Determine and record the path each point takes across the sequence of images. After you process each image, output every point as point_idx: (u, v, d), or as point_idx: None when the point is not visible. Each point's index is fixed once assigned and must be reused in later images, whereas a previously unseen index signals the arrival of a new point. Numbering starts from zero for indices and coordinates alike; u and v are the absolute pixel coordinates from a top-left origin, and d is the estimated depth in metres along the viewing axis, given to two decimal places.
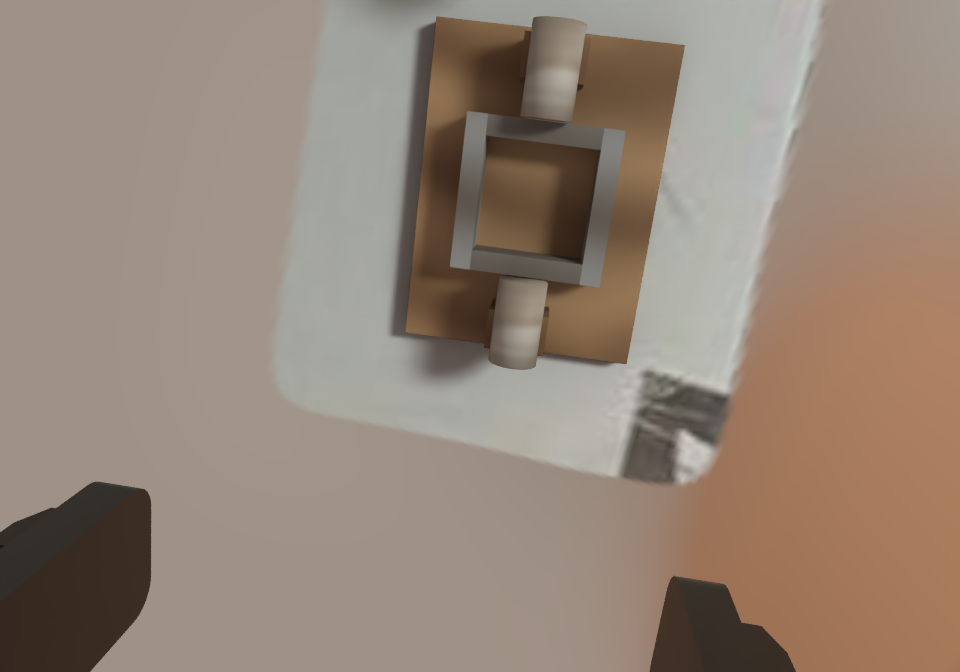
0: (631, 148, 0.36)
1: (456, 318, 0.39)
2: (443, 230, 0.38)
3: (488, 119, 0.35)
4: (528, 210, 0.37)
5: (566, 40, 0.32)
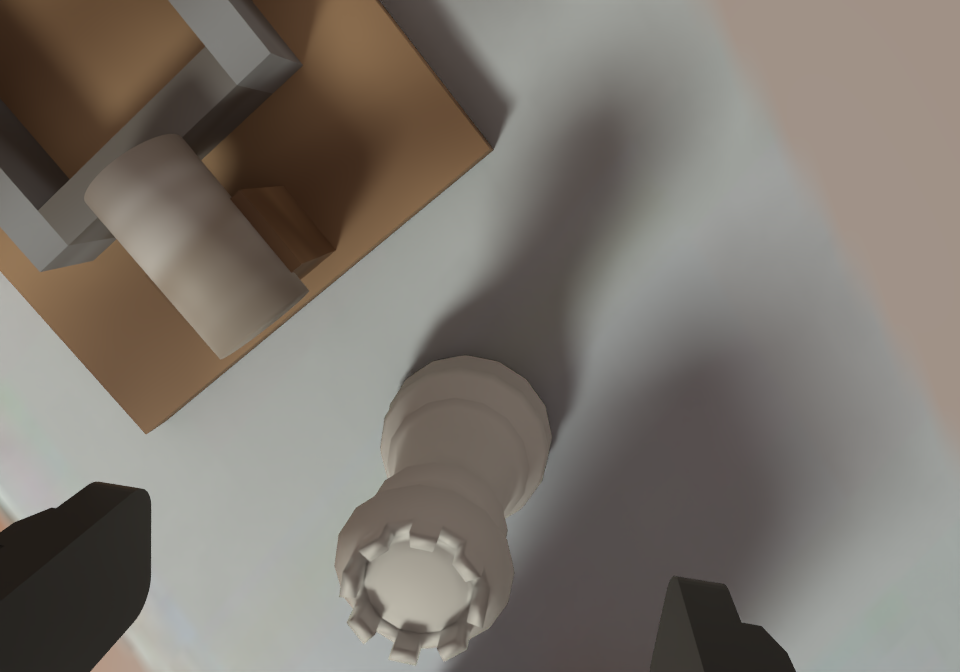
0: None
1: None
2: None
3: (227, 76, 0.15)
4: (77, 11, 0.17)
5: (202, 314, 0.15)
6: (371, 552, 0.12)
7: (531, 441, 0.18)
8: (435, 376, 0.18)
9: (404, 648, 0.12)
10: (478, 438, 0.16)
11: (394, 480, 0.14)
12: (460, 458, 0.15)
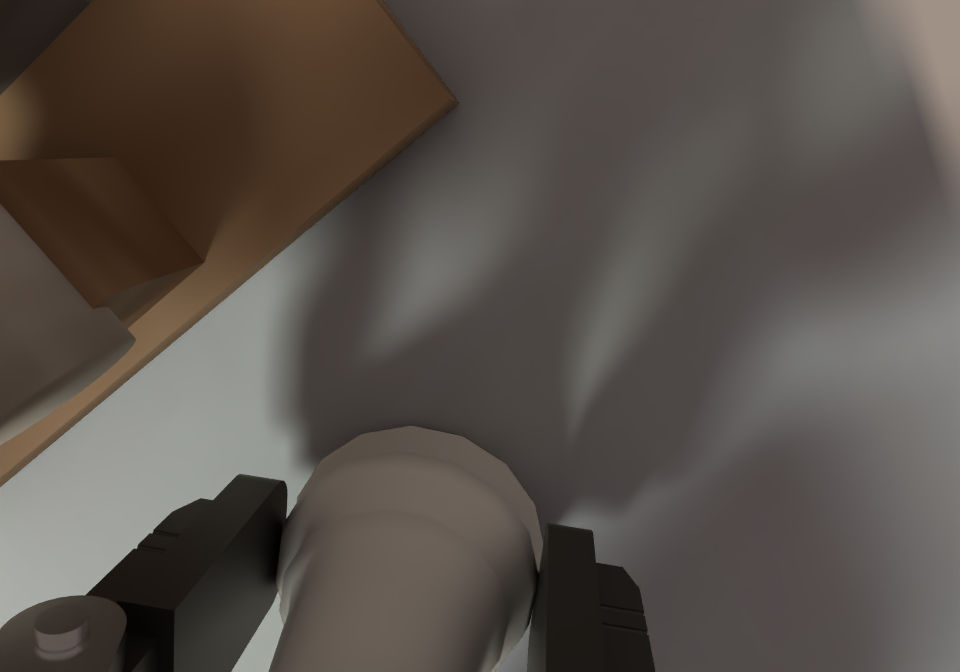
0: None
1: None
2: None
3: None
4: None
5: None
6: None
7: (511, 574, 0.11)
8: (359, 466, 0.11)
9: None
10: (420, 592, 0.09)
11: None
12: (381, 649, 0.08)
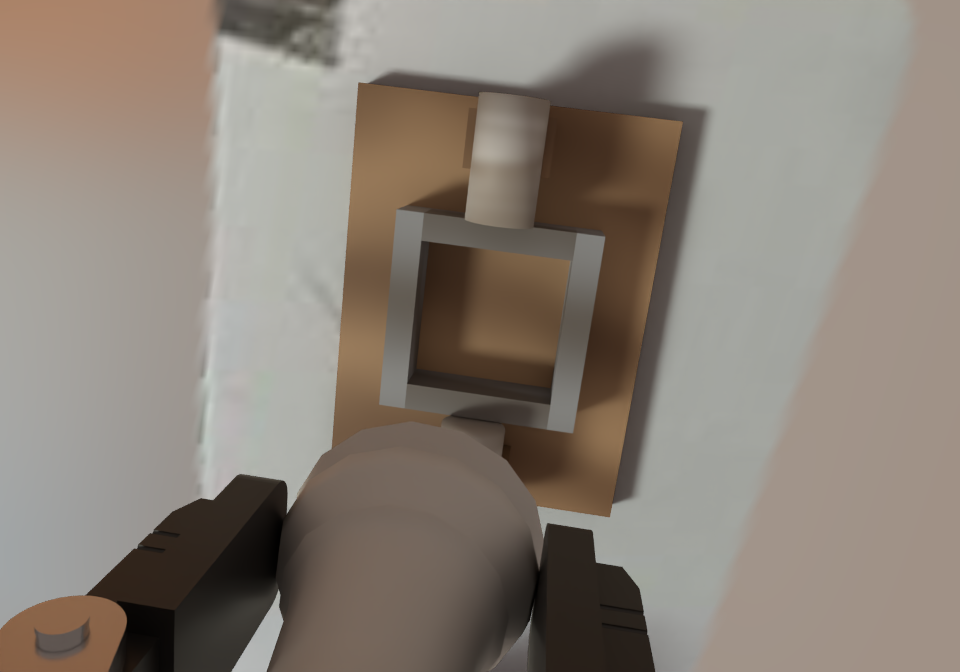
0: (377, 369, 0.30)
1: (603, 145, 0.27)
2: (615, 272, 0.28)
3: (546, 423, 0.28)
4: (500, 297, 0.29)
5: None
6: None
7: (512, 570, 0.11)
8: (360, 462, 0.11)
9: None
10: (421, 587, 0.09)
11: None
12: (381, 645, 0.08)
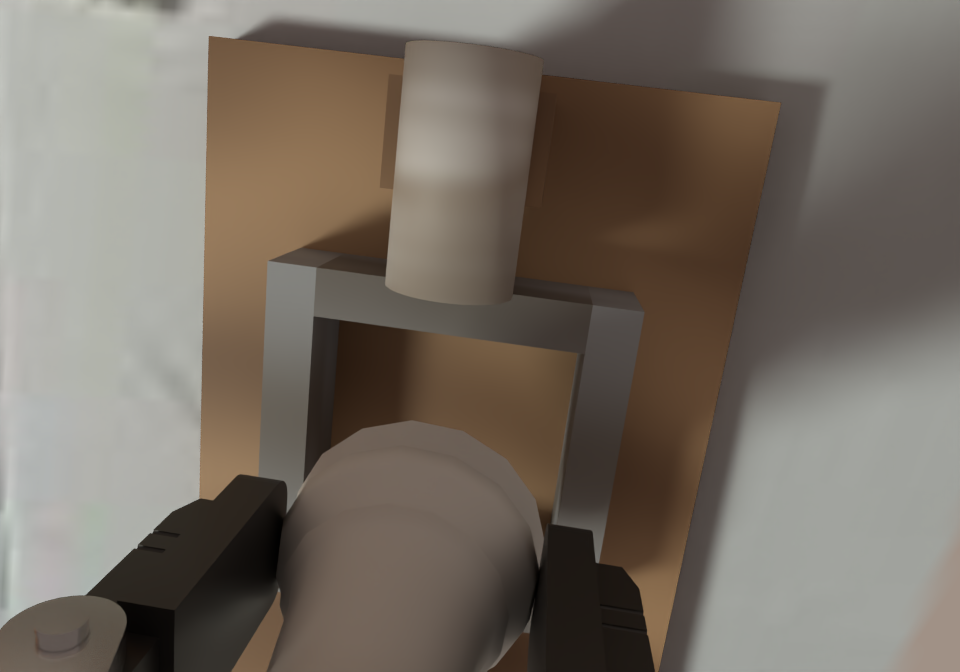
0: None
1: (638, 145, 0.15)
2: (656, 362, 0.16)
3: None
4: (461, 402, 0.17)
5: None
6: None
7: (512, 569, 0.11)
8: (360, 460, 0.11)
9: None
10: (422, 586, 0.09)
11: None
12: (381, 643, 0.08)
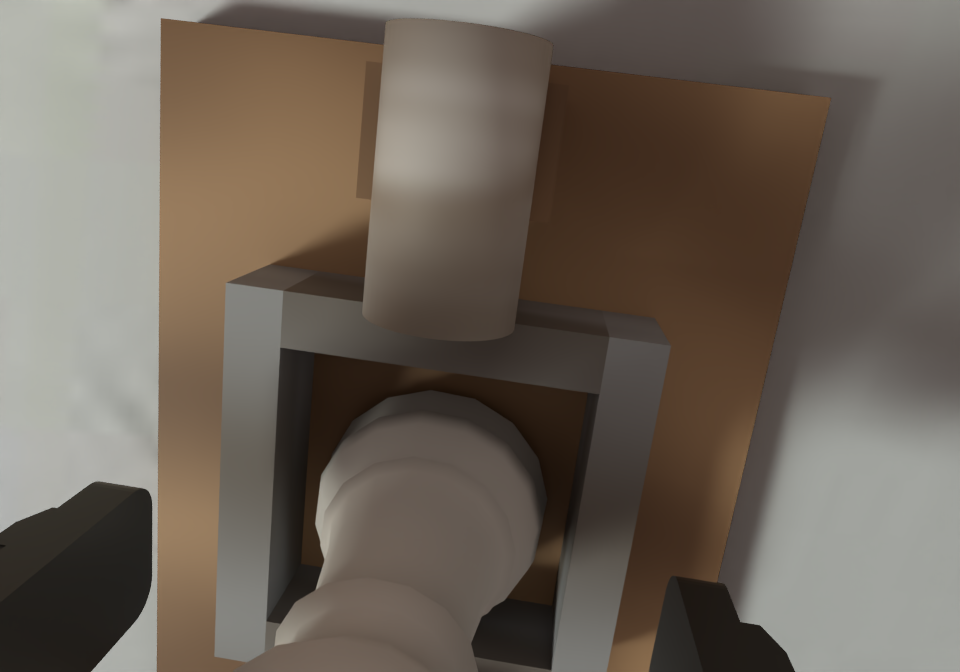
0: None
1: (661, 147, 0.13)
2: (680, 398, 0.14)
3: None
4: None
5: None
6: None
7: (518, 514, 0.13)
8: (387, 422, 0.13)
9: None
10: (441, 520, 0.11)
11: (309, 602, 0.10)
12: (411, 561, 0.10)
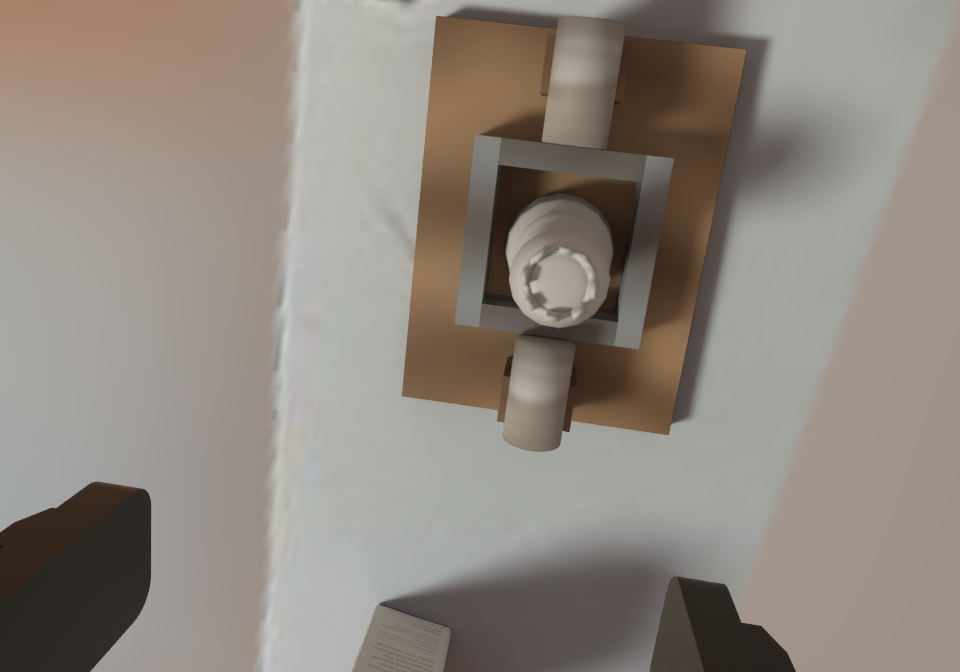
0: (449, 294, 0.32)
1: (669, 74, 0.28)
2: (679, 197, 0.29)
3: (613, 339, 0.29)
4: None
5: (522, 427, 0.29)
6: (537, 258, 0.23)
7: (604, 241, 0.28)
8: (543, 202, 0.29)
9: (553, 314, 0.23)
10: (577, 229, 0.27)
11: None
12: None
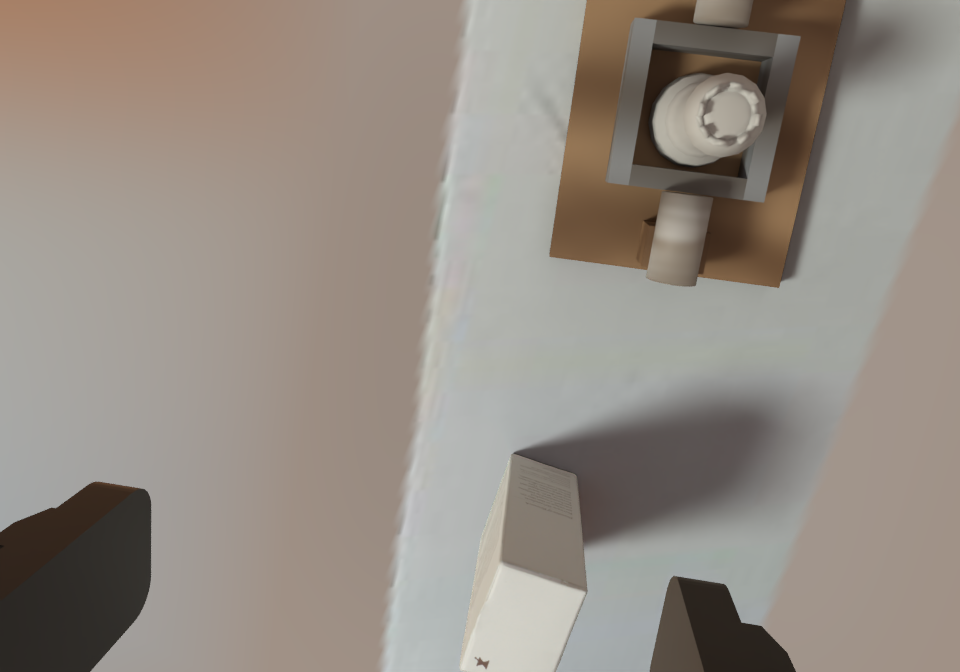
0: (595, 165, 0.37)
1: None
2: (796, 77, 0.35)
3: (743, 194, 0.35)
4: None
5: (668, 265, 0.35)
6: (713, 92, 0.29)
7: None
8: (688, 76, 0.34)
9: (723, 139, 0.29)
10: None
11: None
12: None
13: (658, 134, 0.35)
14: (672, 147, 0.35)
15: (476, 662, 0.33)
